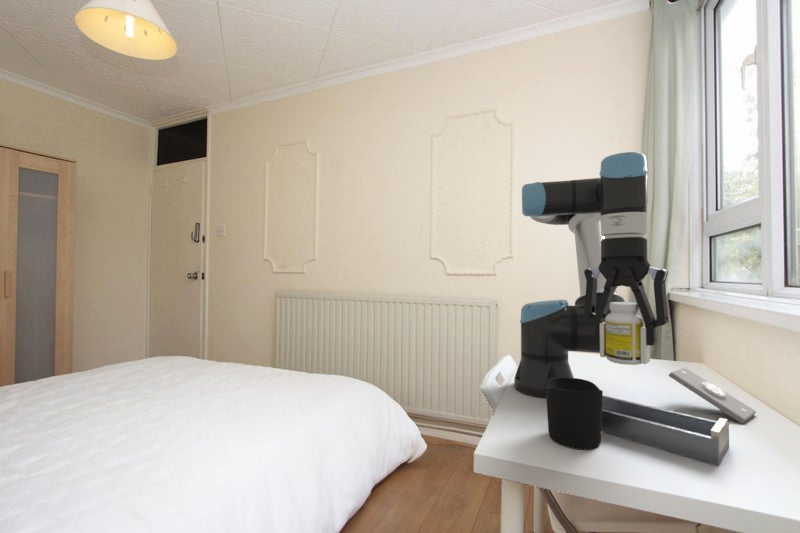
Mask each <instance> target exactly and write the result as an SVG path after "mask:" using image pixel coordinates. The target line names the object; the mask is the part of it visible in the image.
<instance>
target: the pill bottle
mask: <svg viewBox="0 0 800 533" xmlns="http://www.w3.org/2000/svg"><path fill="white" fill-rule="evenodd" d="M609 308H610V310H611V313H610V314H608V315H607V316H606V318H605V332H606V357H605V358H606V359H607V361H609V362H612V363H614V364H619V365H628V366H632V365H633V366H635V365H642V364H641V327H643V326H644V320H643V317H642V315H639V314H638V312H639V311H640V309H639V307H638V304H637V302H632V301H631V302H630V301H629V302H628V301H625V302H610V307H609Z"/></svg>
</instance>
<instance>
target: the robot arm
mask: <svg viewBox="0 0 800 533" xmlns="http://www.w3.org/2000/svg"><path fill="white" fill-rule="evenodd" d="M648 174H649V170H648V167H647V157H646V155H645V154H643V153H641V152H638V151H629V152H628V151H627V152H619V153H618V152H617V153H614V154H610V155H608V156H605V157H604V158H603V159H601V162H600V171H599V176H600V177H594V178H583V179H580V178H579V179H571V180H561V181H560V180H559V181H547V182H546V181H544V182H543V181H542V182H540V181H536V182H532V183H526V184H524V185H522V188H521V209H522V210H521V212H522V215H523V216H525V217H530V218H531V219H532V220H533V221H535V222H538V223H541V224H545V225H553V226H558V225H559V226H562V225H566V226H567V225H568V229H569V231H570V232H571V233H573V234H574V242H575V253H576V262H577V263H576V264H577V272H578V283H579V295H580V296H579V297H577V298H576V299H575V301H574V305H569V303H568V301H567V300H566V299H556V300H555V299H554V300H541V301H535V302H533V301H532V302H529V303H525V304H524V305H523V306H522V307H521V310H520V320H519V323H520V360H519V363H518V367H517V369H516V373H515V376H514V381H513V382H514V383H513V384H514V389H515V390H516V391H519V392H520V393H522V394H525V395H529V396H533V397H539V398H544V399H547V397H546V382H547V381H548V380H549V379H551V378H559V377H566V378H575V377H574V374H573V371H572V368H571V366H570V362H569V352H579V353H580V352H583V353H594V354H596V353H597V354H599V357H600V358H606V332H605V318H606V316H607V315H608V314H610V313H611V310H610V308H609V307H610V302H626V301H625V299H624V297H623V296H622V295H620V294H618V293H617V288H618V287H626V288H630V290H631V292H632V293H633V295H634V299H635V302H636V303H637V304H638V308H639V312H640V314H641V315H640V316H641V317H642V319H643V324H644V325H643V327H641V364H640V365H647V364H648V363H650V361H651V360H650V358H651V357H650V355H651V350H650V349H651V348H650V347H651V346H652V347H653V346H655V345H656V343H657V327H660V326H662V327H663V326H665V325H667V324H668V323H669V322H670V321H669V311H668V300H667V298H668V297H667V288H666V280H667V277H668V274H669V271H668V270H667V269H666V268H661V269H660V268H657V267H653V266H651V265H650V263H649V259H648V239H647V237H644V235H647V234H648V209H647V208H648ZM648 274H649V275H650V279H651V280H652V281H653V294H654V304H655V314H656V317H655V315H654V313H653V309H652V307H651V304H650V301H649V299H648V297H647V296H648V295H647V294H646V292H645V291H646V290H645V286H644V283H643V280H644V279H645V277H646V276H647V275H648Z"/></svg>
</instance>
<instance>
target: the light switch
mask: <svg viewBox="0 0 800 533" xmlns="http://www.w3.org/2000/svg"><path fill="white" fill-rule="evenodd" d="M668 376H669V377H670V378H671V379H673V380H674V381H676V382H677V383H679V384H680V385H682V386H684V387H685V388H686V389H688V390H690V391H691V392H693V394H695V395H697V396H699V397H700V398H701V399H703V400H704V401H706V402H708V403H709V404H711V405H713V406H714V407H716V408H717V409H719V410H720V411H722V412H723V413H725V414H726V415H727V416H729V417H731V418H733V419H734V420H736V421H737V422H738V423H740V424H742V425H743V424H744V423H746V422H747V421H748V420H750V419H751V418H753V417H754V416H755V414H756V413H757V411H756V410H755V409H753V408H752V407H750V406H749V405H747V404H746V403H744V402H742V401H740V400H739V399H737V398H736V397H734V396H732V395H731V394H729V393H728V392H726V391H724V390H722V389H721V387H719V386H717V385H715V384H714V383H711V382H710V381H708V380H706V379H705V378H703V377H701V376H700V375H699V374H697V373H695V372H693V371H691V370H690V369H689V368H687V367H682V368H680V369H677V370H674V371H671V372H669V374H668Z"/></svg>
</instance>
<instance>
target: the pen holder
mask: <svg viewBox="0 0 800 533" xmlns="http://www.w3.org/2000/svg"><path fill="white" fill-rule="evenodd" d="M603 393H604V392H603V390H601V389H600V388H599V387H598V386H597V385H596V384H595V383H594V382H592V381H590V380H587V379H582V378H575V377H574V378H566V377H559V378H551V379H549V380H548V381H547V382H546V397H547V398H546V412H547V428H548V435H549V437H550V438H551V440H552V441H553V442H554V443H556V444H559V445H561V446H563V447H566V448H570V449H575V450H593V449H596V448H598V447H599V446H600V445H601V444H602V432H601V429H602V398H603V396H604V394H603Z"/></svg>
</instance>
